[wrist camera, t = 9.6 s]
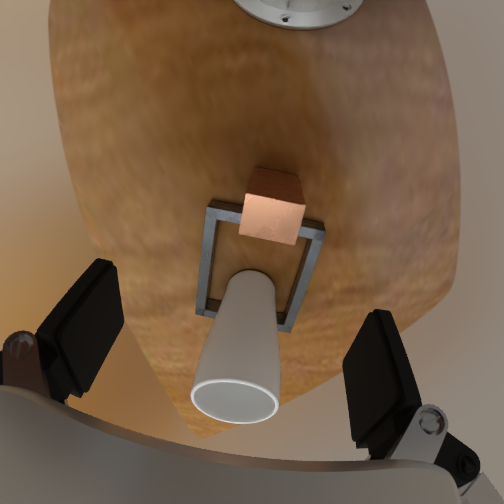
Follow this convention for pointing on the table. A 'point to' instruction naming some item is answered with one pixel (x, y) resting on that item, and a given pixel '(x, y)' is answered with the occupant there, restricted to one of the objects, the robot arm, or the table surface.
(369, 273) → the table surface
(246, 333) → the drinking glass
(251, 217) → the frame
